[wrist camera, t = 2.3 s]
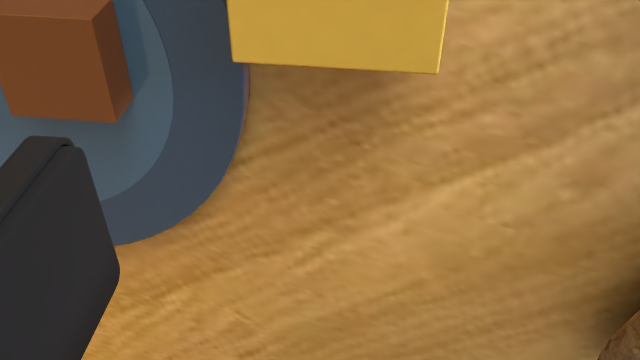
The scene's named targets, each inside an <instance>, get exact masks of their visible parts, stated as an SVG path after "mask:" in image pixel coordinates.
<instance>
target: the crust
mask: <svg viewBox="0 0 640 360" xmlns="http://www.w3.org/2000/svg"><path fill="white" fill-rule="evenodd" d="M0 84H1V87H2V90H3V93H4V95H5V98H6V101H7V103H8V106H9V109H10V111H11V114H12V116H22V117H36V118H50V119H65V120H79V121H93V122H107V123H117V121H118V120H119V118H120V117H121V116H122V114H123V113H124V111H125V110H126V108H127V107H128V105H129V104H130V103H131V101H132V100H133V98H134V97H133V92H132V87H131V83H130V78H129V73H128V69H127V64H126V60H125V55H124V50H123V46H122V41H121V36H120V32H119V27H118V22H117V18H116V13H115V9H114V4H113V0H0Z"/></svg>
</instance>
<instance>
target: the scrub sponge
mask: <svg viewBox="0 0 640 360" xmlns="http://www.w3.org/2000/svg"><path fill="white" fill-rule="evenodd" d="M448 3H449V0H227V11H228V22H229V32H230V43H231V54H232V60H233V62H238V63H255V64H271V65H288V66H304V67H321V68H337V69H354V70H371V71H387V72H404V73H420V74H437V73H438V72H439V65H440V58H441V51H442V44H443V38H444V31H445V24H446V17H447V10H448Z"/></svg>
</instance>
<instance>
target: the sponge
mask: <svg viewBox="0 0 640 360" xmlns="http://www.w3.org/2000/svg"><path fill="white" fill-rule="evenodd" d="M598 360H640V310H639V311H638V312H636V313H635V314H634V315H633V316H632V317H631V318H630V319H629V320H628V321H627V322H625V323H624V324H623V325H622V326H621V327H620V328H619V329H618V330H617V331H616V333H615V334H614V335H613V336H612V338H611V339H610V340H609V342H608V343H607V344H606V345H605V347H604V348H603V350H602V352H601V353H600V355H599V356H598Z"/></svg>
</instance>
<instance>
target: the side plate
mask: <svg viewBox="0 0 640 360" xmlns="http://www.w3.org/2000/svg"><path fill="white" fill-rule="evenodd" d="M113 4H114V9H115V13H116V18H117V22H118V27H119V32H120V36H121V41H122V46H123V50H124V55H125V60H126V64H127V69H128V73H129V78H130V83H131V87H132V92H133V97H134V98H133V100H132V101H131V103H130V104H129V105H128V107H127V108H126V110H125V111H124V113H123V114H122V116H121V117H120V118H119V120H118V121H117V123H107V122H93V121H79V120H65V119H50V118H36V117H22V116H12V114H11V111H10V109H9V106H8V103H7V101H6V98H5V95H4V93H3V90H2V87H1V84H0V167H1V166H2V165H3V164H4V163H5V161H6V160H7V159H8V158H9V157H10V156H11V154H12V153H13V152H14V151H15V150H16V149H17V148H18V146H19V145H20V144H21V143H22V142H23V141H24V140H25V139H26V138H27V137H28V136H33V135H35V136H53V137H66V138H69V139H70V140H71V141H72V142H73V144H74V146H75V147H79V148H81V149H82V150H83V151H84V154H85V156H86V159H87V162H88V166H89V169H90V172H91V175H92V179H93V182H94V185H95V188H96V191H97V195H98V198H99V201H100V204H101V207H102V211H103V214H104V217H105V220H106V224H107V227H108V230H109V233H110V236H111V240H112V243H113V246H118V245H124V244H129V243H133V242H136V241H139V240H142V239H146V238H149V237H152V236H154V235H156V234H158V233H161V232H163V231H165V230H167V229H169V228H171V227H173V226H175V225H176V224H178V223H179V222H181V221H182V220H184V219H185V218H187V217H188V216H190V215H191V214H192V213H193V212H194V211H196V210H197V209H198V208H199V207H200V206H201V205H202V204H203V203H204V202H205V201H206V200H207V199H208V198H209V197H210V196H211V194H212V193H213V192H214V190H215V189H216V188H217V186H218V185H219V184H220V183H221V181H222V179H223V178H224V176H225V174H226V172H227V170H228V168H229V166H230V164H231V162H232V160H233V158H234V155H235V153H236V150H237V147H238V144H239V141H240V138H241V135H242V132H243V129H244V126H245V122H246V116H247V109H248V103H249V96H250V93H249V63H238V62H233V60H232V54H231V43H230V32H229V22H228V11H227V0H113Z"/></svg>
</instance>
